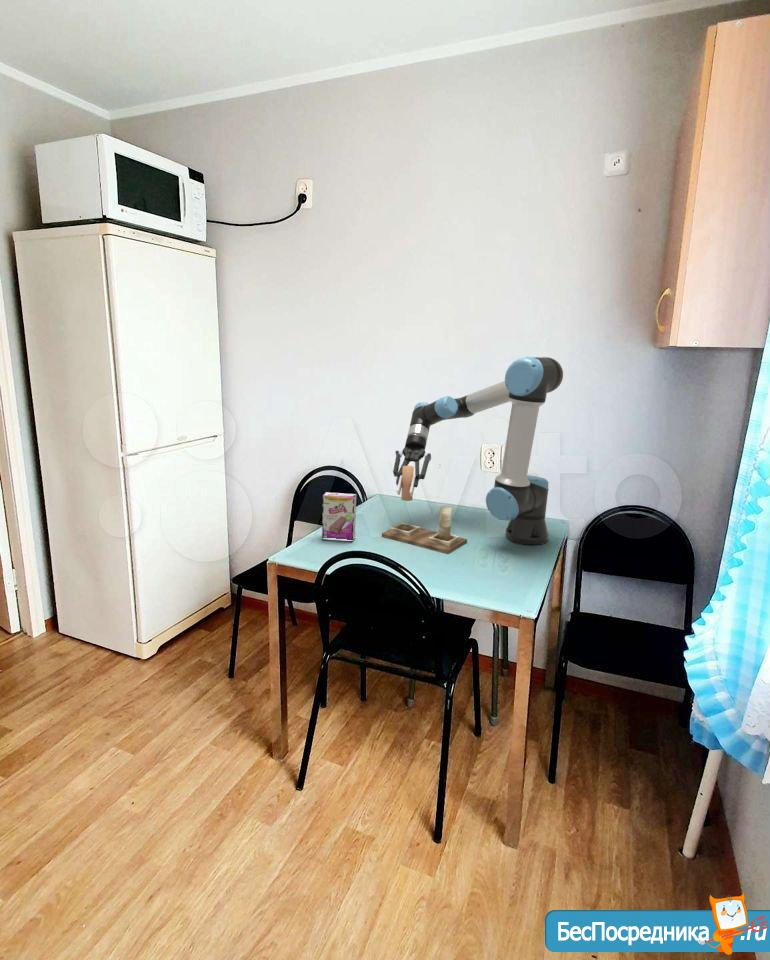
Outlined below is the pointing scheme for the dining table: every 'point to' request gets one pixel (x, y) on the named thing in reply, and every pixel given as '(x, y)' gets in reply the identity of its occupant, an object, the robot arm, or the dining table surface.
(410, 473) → the peg
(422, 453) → the robot arm
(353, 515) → the candy bar box
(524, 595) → the dining table surface
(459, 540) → the board
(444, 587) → the dining table surface
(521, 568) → the dining table surface
